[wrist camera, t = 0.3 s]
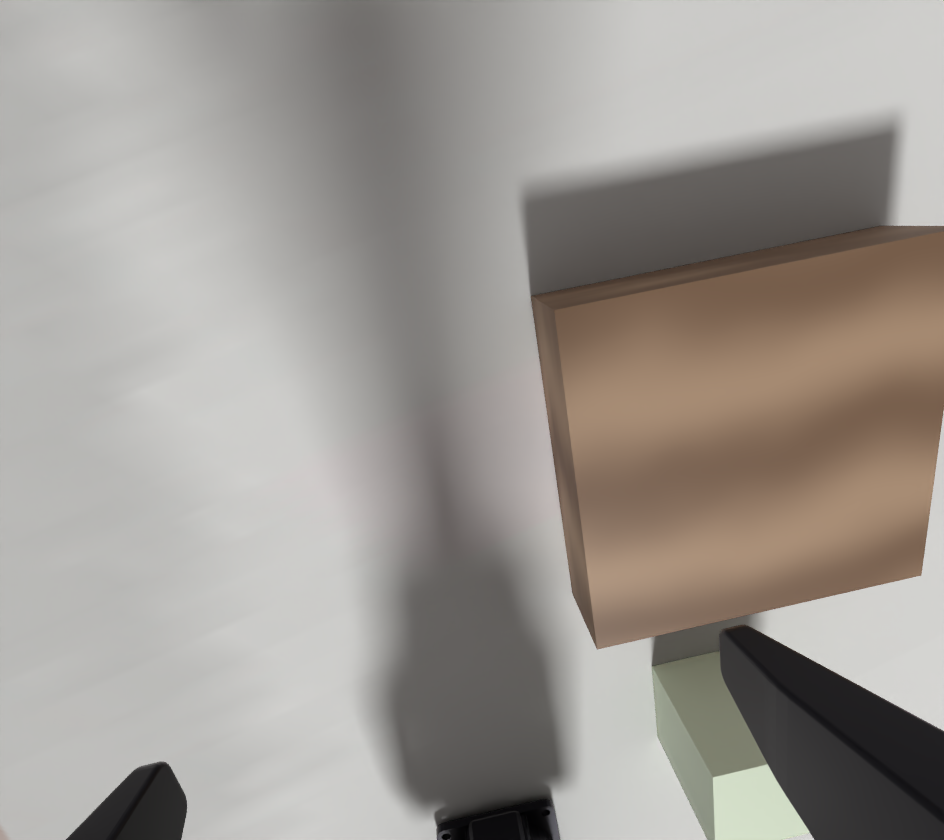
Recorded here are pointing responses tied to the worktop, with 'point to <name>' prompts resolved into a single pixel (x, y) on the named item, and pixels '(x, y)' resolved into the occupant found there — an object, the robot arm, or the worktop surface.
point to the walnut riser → (746, 428)
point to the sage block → (718, 755)
